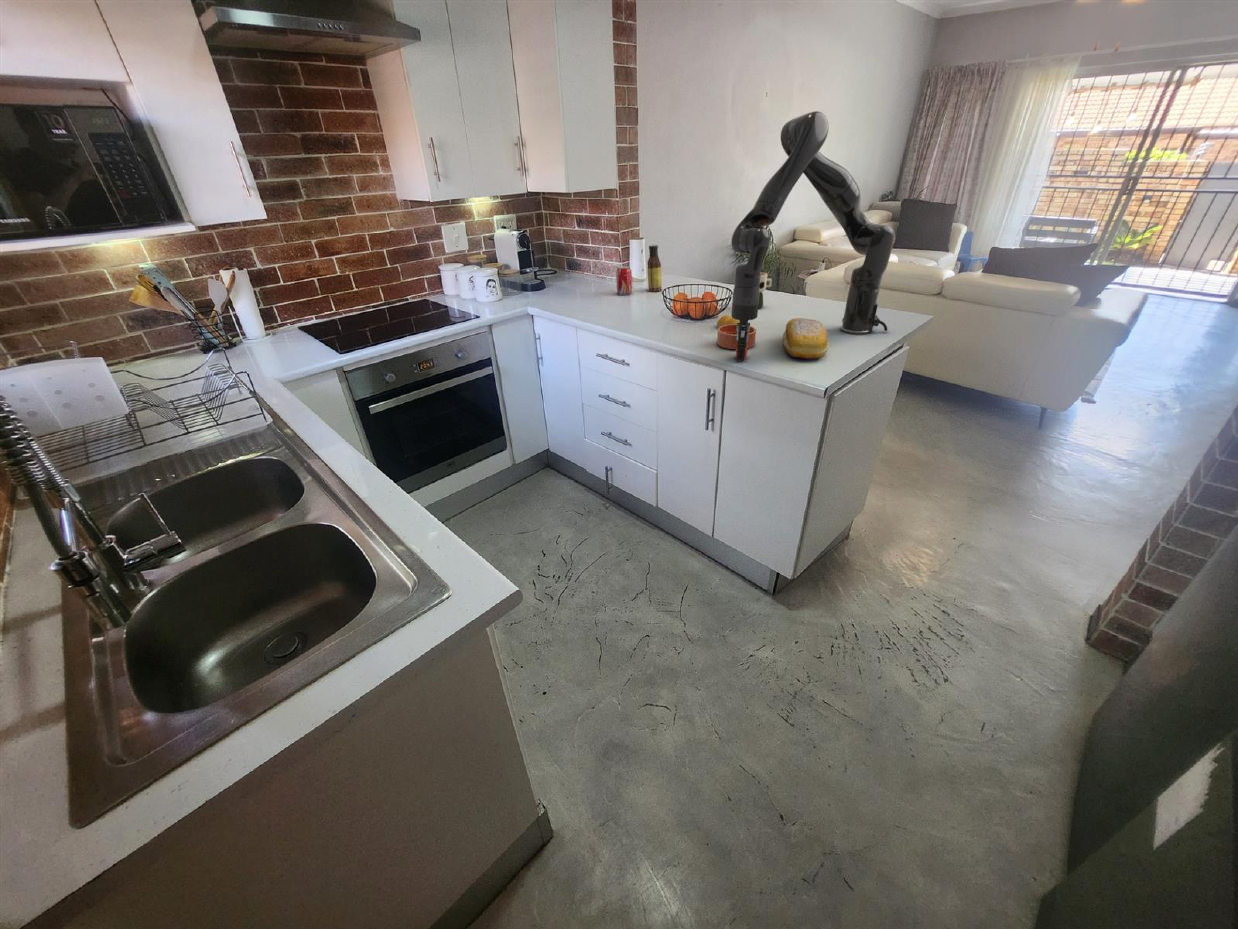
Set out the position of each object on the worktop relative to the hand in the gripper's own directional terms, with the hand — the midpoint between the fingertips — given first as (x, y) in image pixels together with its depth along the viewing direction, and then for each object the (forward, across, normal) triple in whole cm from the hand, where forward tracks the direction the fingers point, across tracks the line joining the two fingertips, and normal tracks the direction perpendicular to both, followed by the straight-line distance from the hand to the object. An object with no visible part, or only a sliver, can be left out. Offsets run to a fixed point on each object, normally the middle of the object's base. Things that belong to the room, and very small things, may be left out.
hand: (740, 357), depth 156 cm
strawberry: (0, 0, 0) cm, 0 cm away
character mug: (+1, +60, -4) cm, 60 cm away
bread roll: (+1, +32, +5) cm, 32 cm away
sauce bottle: (+1, +88, +42) cm, 98 cm away
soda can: (+1, +81, +55) cm, 98 cm away
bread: (+1, +12, -19) cm, 22 cm away
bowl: (0, +13, +2) cm, 13 cm away
